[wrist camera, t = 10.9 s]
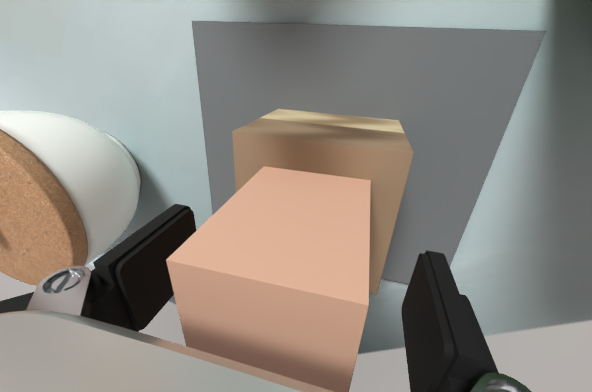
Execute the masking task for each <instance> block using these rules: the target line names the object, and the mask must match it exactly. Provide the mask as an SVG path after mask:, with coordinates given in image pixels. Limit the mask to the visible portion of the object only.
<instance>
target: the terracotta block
mask: <svg viewBox="0 0 592 392" xmlns="http://www.w3.org/2000/svg"><path fill="white" fill-rule="evenodd" d="M370 188H371V180H364V179H356V178H349V177H341V176H334V175H326V174H318V173H311V172H303V171H295V170H288V169H280V168H273V167H265V166H264V167H263V168H262V169H260V170H259V171H258V172H257V173H256V174H255V175H254V176H253V177H252V178H251V179H250V180H249V181H248V182H247V183H246V184H245V185H244V186H243V187H242V188H241V189H240V190H239V191H237V192H236V193H235V194H234V195H233V196H232V197H231V198H230V199H229V200H228V201H227V202H226V203H225V204H224V205H223V206H222V207H221V208H220V209H219V210H218V211H217V212H216V213H214V214H213V215H212V216H211V217H210V218H209V219H208V220H207V221H206V222H205V223H204V224H203V225H202V226H201V227H200V228H199V229H198V230H197V231H196V232H195V233H194V234H193V235H191V236H190V237H189V238H188V239H187V240H186V241H185V242H184V243H183V244H182V245H181V246H180V247H179V248H178V249H177V250H176V251H175V252H174V253H173V254H172V255H171V256H170V257H168V258H167V259H166V262H167V266H168V271H169V275H170V279H171V283H172V287H173V292H174V296H175V300H176V304H177V308H178V313H179V317H180V321H181V325H182V330H183V334H184V338H185V342H186V346H187V347H190V348H193V349H197V350H200V351H203V352H207V353H210V354H213V355H216V356H220V357H223V358H226V359H230V360H233V361H236V362H240V363H243V364H246V365H249V366H253V367H256V368H259V369H263V370H266V371H269V372H272V373H275V374H279V375H282V376H285V377H288V378H292V379H295V380H298V381H301V382H305V383H308V384H311V385H314V386H318V387H321V388H324V389H327V390H330V391H334V392H349V388H350V384H351V380H352V375H353V371H354V367H355V362H356V358H357V354H358V350H359V345H360V341H361V337H362V332H363V328H364V324H365V319H366V315H367V311H368V306H369V254H370Z"/></svg>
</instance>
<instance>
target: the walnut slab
mask: <svg viewBox="0 0 592 392" xmlns="http://www.w3.org/2000/svg"><path fill="white" fill-rule="evenodd" d="M232 136H233V153H234V169H235V186H236V192H237V191H239V190H240V189H241V188H242V187H243V186H244V185H245V184H246V183H247V182H248V181H249V180H250V179H251V178H252V177H253V176H254V175H255V174H256V173H257V172H258V171H259V170H260V169H262V168H263V167H264V166H265V167H273V168H280V169H288V170H295V171H303V172H311V173H318V174H326V175H334V176H341V177H349V178H356V179H364V180H371V188H370V254H369V293H373V294H377V291H378V287H379V283H380V279H381V276H382V272H383V268H384V264H385V260H386V256H387V253H388V249H389V245H390V241H391V237H392V234H393V230H394V226H395V222H396V218H397V214H398V211H399V207H400V203H401V199H402V195H403V191H404V188H405V184H406V180H407V176H408V172H409V168H410V165H411V161H412V157H413V150H412V148H411V146H410V144H409V142H408V139H407V137H406V135H405V133H400V132H390V131H381V130H371V129H361V128H352V127H342V126H333V125H323V124H313V123H304V122H294V121H285V120H275V119H265V118H259V119H256V120H254V121H252V122H250V123H248V124H246V125H244V126H242V127H240V128H238V129H236V130H234V131H232Z"/></svg>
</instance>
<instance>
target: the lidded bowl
mask: <svg viewBox="0 0 592 392" xmlns="http://www.w3.org/2000/svg"><path fill="white" fill-rule="evenodd" d="M140 187H141V177H140V172H139V169H138V166H137V164H136V162H135V160H134V158H133V157H132V155H131V154H130V152H129V151H128V150H127V148H126V147H125V146H124V145H123V144H122V143H121V142H119V141H118V140H117V139H116V138H114V137H113V136H111V135H109V134H107V133H105V132H102V131H100V130H99V129H97V128H95V127H93V126H92V125H90V124H88V123H86V122H83V121H80V120H78V119H75V118H72V117H69V116H66V115H61V114H56V113H50V112H44V111H29V110H20V111H0V271H1V272H3V273H4V274H6V275H8V276H10V277H12V278H14V279H17V280H19V281H22V282H24V283H28V284H30V285H36V286H38V285H39V283H40V282H41V281H42V280H43V279H44V278H46V277H47V276H49V275H50V274H52V273H54V272H56V271H58V270H60V269H63V268H67V267H71V266H85V265H87V264H88V263H90V262H91V261H92V260H94V259H95V258H96V257H98V256H99V255H100V254H102V253H103V252H104V251H105V250H106V249H107V248H108V247H109V246H111V245H112V244H113V243H114V242H115V241H116V240H117V239H118V238H119V237H120V236H121V235H122V234H123V232H124V231H125V230H126V229H127V227H128V225H129V224H130V222H131V221H132V219H133V217H134V215H135V212H136V209H137V206H138V200H139V190H140Z"/></svg>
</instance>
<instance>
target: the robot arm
mask: <svg viewBox="0 0 592 392" xmlns="http://www.w3.org/2000/svg"><path fill="white" fill-rule="evenodd" d="M195 232H196V226H195V219H194V213H193V211H192V210H191V209H190V207H188V206H184V205H179V204H175V205H173V206H171V207H170V208H169V209H167V210H166V211H164V212H163V213H162V214H160V215H159V216H157V217H156V218H155V219H153V220H152V221H150V222H149V223H148V224H146V225H145V226H143V227H142V228H141V229H139V230H138V231H136V232H135V233H134V234H132V235H131V236H129V237H128V238H127V239H125V240H124V241H123V242H121V243H120V244H118V245H117V246H116V247H114V248H113V249H111V250H110V251H109V252H107V253H106V254H104V255H103V256H102V257H100V258H99V259H97V260H96V261H95V262H93V263H94V266H95V269H94V270H92V271H91V270H90V269H89V268H87V267H85V266H71V267H67V268H63V269H60V270H58V271H56V272H54V273H52V274H50V275H49V276H47V277H46V278H44V279H43V280H42V281H41V282H40V283H39V285H38V286H37V288H36V290H35V292H32V293H29V294H25V295H21V296H18V297H14V298H11V299H7V300H3V301H0V392H334V391H330V390H327V389H324V388H321V387H318V386H314V385H311V384H308V383H305V382H301V381H298V380H295V379H292V378H288V377H285V376H282V375H279V374H275V373H272V372H269V371H266V370H263V369H259V368H256V367H253V366H249V365H246V364H243V363H240V362H236V361H233V360H230V359H226V358H223V357H220V356H216V355H213V354H210V353H207V352H203V351H200V350H197V349H193V348H190V347H187V346H183V345H180V344H177V343H173V342H170V341H166V340H163V339H160V338H156V337H153V336H150V335H146V334H143V333H139V332H138V331H139V330H142V329H144V328H145V327H146V326H147V325H148V324H149V323H150V321H151V320H152V319H153V318H154V317H155V315H156V314H157V313H158V312H159V311H160V310H161V309H162V307H163V306H164V305H165V304H166V303H167V302H168V300H169V299H170V298H171V297H172V296H173V295H174V292H173V287H172V283H171V279H170V275H169V271H168V266H167V262H166V259H167V258H168V257H170V256H171V255H172V254H173V253H174V252H175V251H176V250H177V249H178V248H179V247H180V246H181V245H182V244H183V243H184V242H185V241H186V240H187V239H188V238H189V237H190V236H191V235H193V234H194V233H195ZM402 321H403V330H404V338H405V347H406V356H407V364H408V373H409V381H410V390H411V392H531V391H530V390H529V389H528V388H527V387H526V386H524V385H523V384H521V383H520V382H518V381H517V380H515V379H513V378H511V377H509V376H507V375H504V374H499V373H498V370H497V368H496V365H495V363H494V360H493V358H492V355H491V353H490V351H489V348H488V346H487V343H486V341H485V338H484V336H483V333H482V331H481V328H480V326H479V323H478V321H477V319H476V316H475V314H474V311H473V309H472V306H471V304H470V301H469V300H468V298H467V297H466V296H465V295H461V294H459V291H458V289H457V286H456V283H455V281H454V278H453V275H452V273H451V270H450V267H449V265H448V262H447V259H446V257H445V255H444V254H443V253H439V252H433V251H428V250H427V251H426V252H425V253H424V254H422V253H420V254H419V256H418V259H417V262H416V265H415V268H414V271H413V274H412V277H411V280H410V283H409V286H408V289H407V292H406V295H405V298H404V301H403V304H402Z"/></svg>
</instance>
